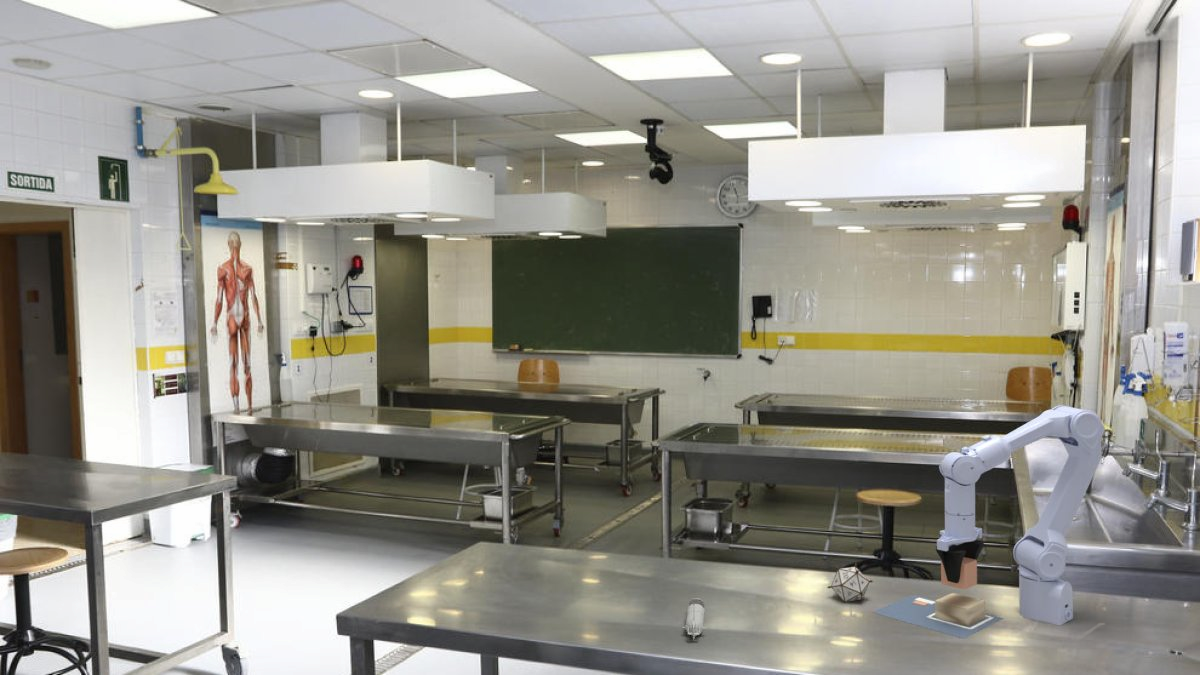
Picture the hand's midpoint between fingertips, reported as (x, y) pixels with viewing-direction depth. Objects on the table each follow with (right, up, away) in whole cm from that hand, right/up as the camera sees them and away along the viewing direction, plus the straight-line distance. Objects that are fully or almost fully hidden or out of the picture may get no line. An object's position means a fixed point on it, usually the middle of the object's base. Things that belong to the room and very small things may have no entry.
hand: (960, 578), depth 184 cm
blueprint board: (-4, -9, +2) cm, 10 cm away
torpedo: (-54, -10, +1) cm, 55 cm away
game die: (-19, -9, +13) cm, 25 cm away
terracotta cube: (0, -1, 0) cm, 1 cm away
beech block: (0, -8, 0) cm, 8 cm away
